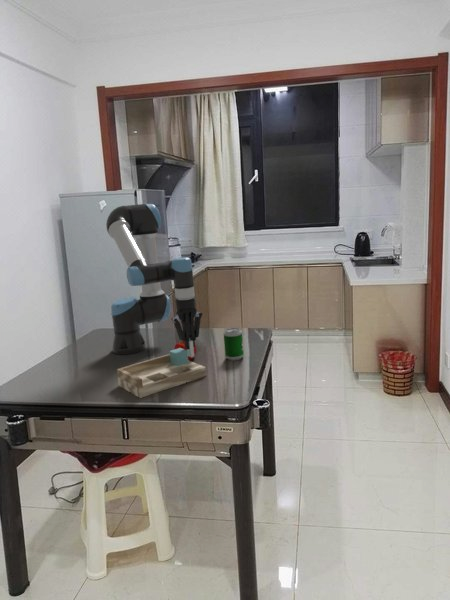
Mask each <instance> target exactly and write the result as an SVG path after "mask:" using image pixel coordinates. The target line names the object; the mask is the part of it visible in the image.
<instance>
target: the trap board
mask: <svg viewBox="0 0 450 600" xmlns="http://www.w3.org/2000/svg"><path fill="white" fill-rule="evenodd" d="M206 368H207V367H206V366H204V365H202V364H199V363H196V362H194V361H192V360H188V363H186V364H182V365H179V366H176V365H174V364H171V361H170V353H168V354H164V355H161V356H158V357H153V358H150V359H147V360H144V361H140V362H136V363H133V364H130V365H127V366H122V367H119V368H117V369H116V374H117V375H116V376H117V383H118V386H119V387H120V388H122V389H124V390H125V391H128V392H129V393H130V392H131V393H130V394H132V395H134V396H136V397H138V398H139V399H142V398H144V397H148V396H151V395H154V394H157V393H160V392H163V391H166V390H169V389H172V388H174V387H175V388H176V387H178V386H180V385H183V384H186V382H187V383H190V382H192V381H196V380H198V379H202V378H204V377H206V376H207V370H206Z"/></svg>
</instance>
